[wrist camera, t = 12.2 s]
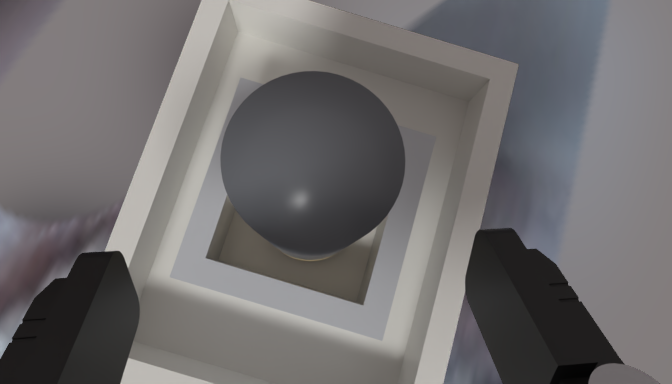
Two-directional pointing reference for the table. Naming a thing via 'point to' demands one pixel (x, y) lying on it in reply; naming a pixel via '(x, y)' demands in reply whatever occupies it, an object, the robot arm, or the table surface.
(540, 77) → the table surface
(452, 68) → the walled box
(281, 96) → the dark grey cylinder
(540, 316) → the robot arm
